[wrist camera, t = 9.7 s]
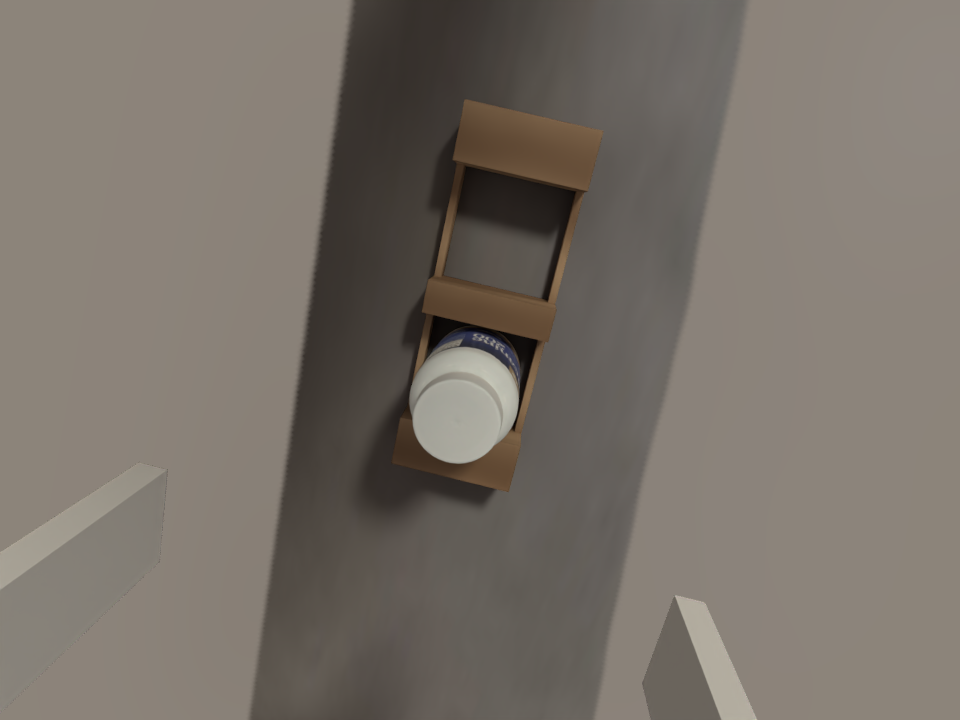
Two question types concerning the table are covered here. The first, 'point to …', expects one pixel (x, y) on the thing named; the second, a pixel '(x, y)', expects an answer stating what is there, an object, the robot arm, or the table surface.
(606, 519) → the table surface
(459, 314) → the brown wooden rack
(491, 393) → the pill bottle
